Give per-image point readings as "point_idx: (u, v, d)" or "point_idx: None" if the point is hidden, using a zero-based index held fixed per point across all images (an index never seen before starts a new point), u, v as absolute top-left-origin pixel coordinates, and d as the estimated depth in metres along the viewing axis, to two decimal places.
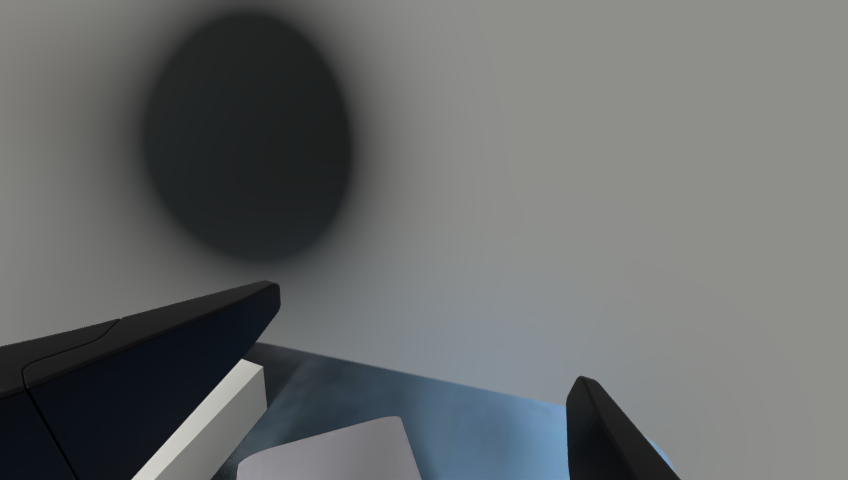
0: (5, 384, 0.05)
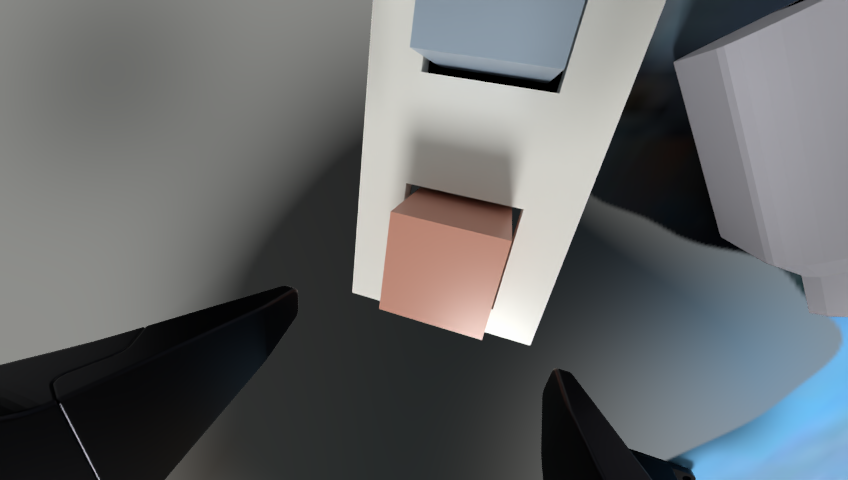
0: (37, 398, 0.04)
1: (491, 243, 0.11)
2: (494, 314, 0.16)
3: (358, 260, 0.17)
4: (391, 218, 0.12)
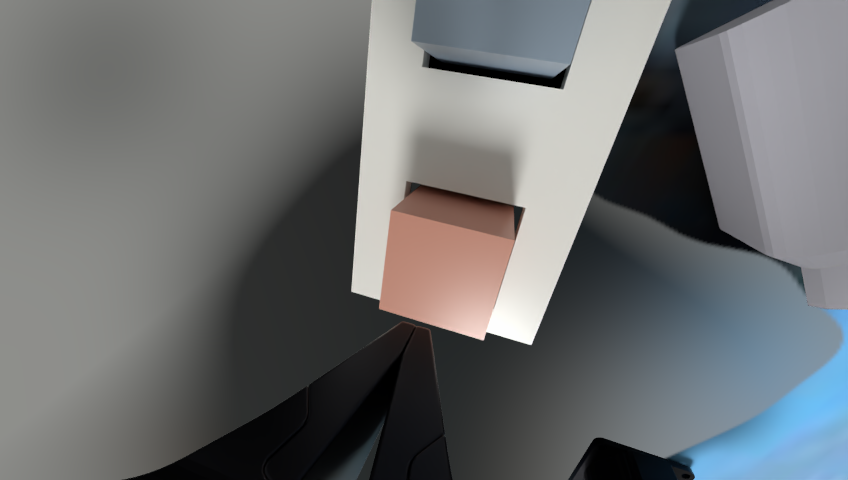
0: None
1: (494, 242, 0.11)
2: (495, 313, 0.15)
3: (357, 259, 0.16)
4: (391, 217, 0.12)
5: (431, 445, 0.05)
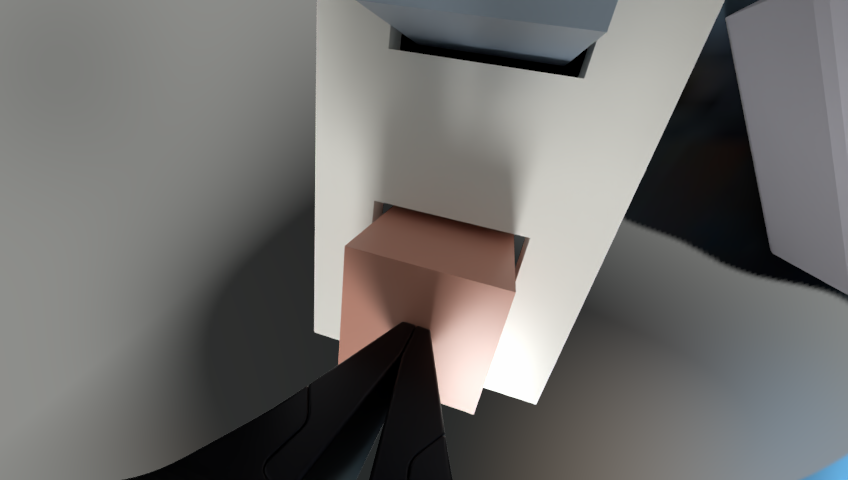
0: None
1: (486, 294, 0.08)
2: (490, 366, 0.12)
3: (319, 294, 0.13)
4: (346, 255, 0.08)
5: (431, 445, 0.05)
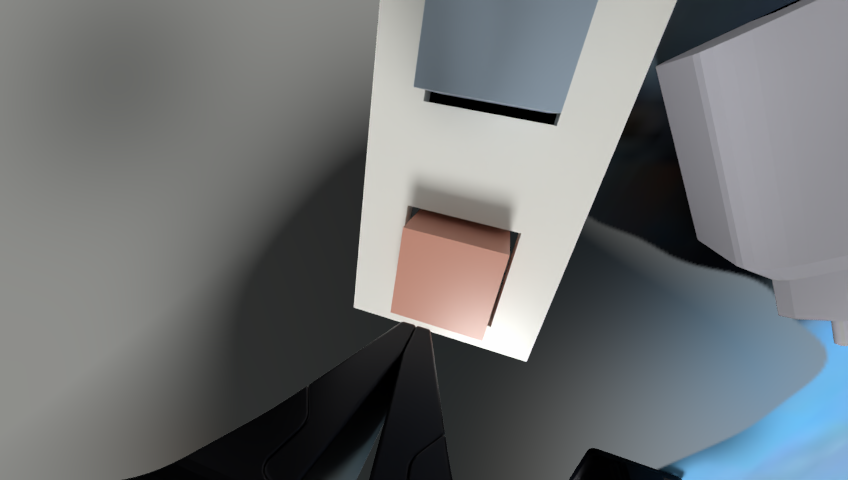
0: None
1: (492, 256, 0.13)
2: (492, 331, 0.16)
3: (360, 277, 0.17)
4: (403, 233, 0.13)
5: (431, 445, 0.05)
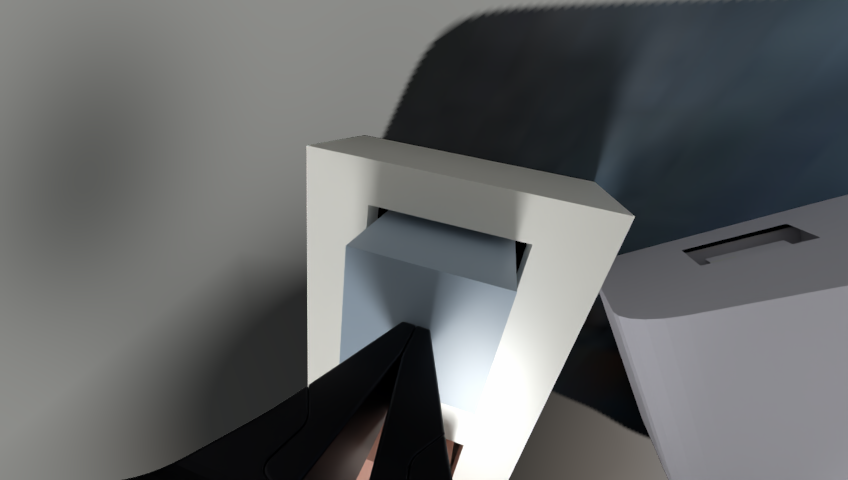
0: None
1: None
2: None
3: None
4: None
5: (431, 445, 0.05)
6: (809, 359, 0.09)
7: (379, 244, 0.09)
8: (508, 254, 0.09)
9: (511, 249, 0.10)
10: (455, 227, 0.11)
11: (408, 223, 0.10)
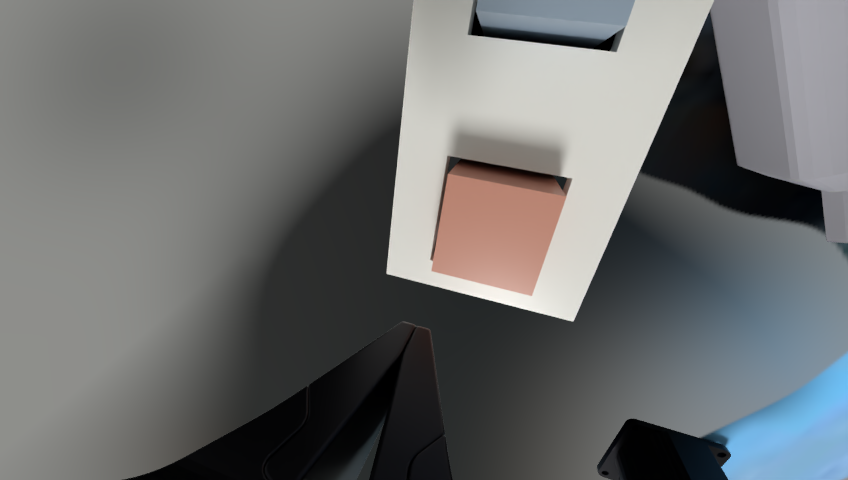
0: None
1: (546, 199, 0.12)
2: (536, 290, 0.15)
3: (393, 239, 0.16)
4: (448, 180, 0.12)
5: (431, 445, 0.05)
6: None
7: None
8: None
9: None
10: None
11: None
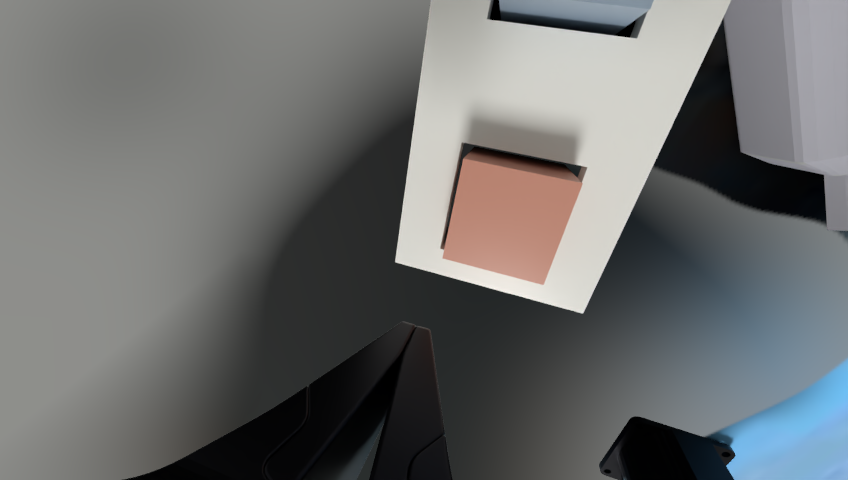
0: None
1: (562, 186, 0.12)
2: (547, 281, 0.15)
3: (404, 227, 0.16)
4: (463, 165, 0.12)
5: (431, 445, 0.05)
6: None
7: None
8: None
9: None
10: None
11: None
